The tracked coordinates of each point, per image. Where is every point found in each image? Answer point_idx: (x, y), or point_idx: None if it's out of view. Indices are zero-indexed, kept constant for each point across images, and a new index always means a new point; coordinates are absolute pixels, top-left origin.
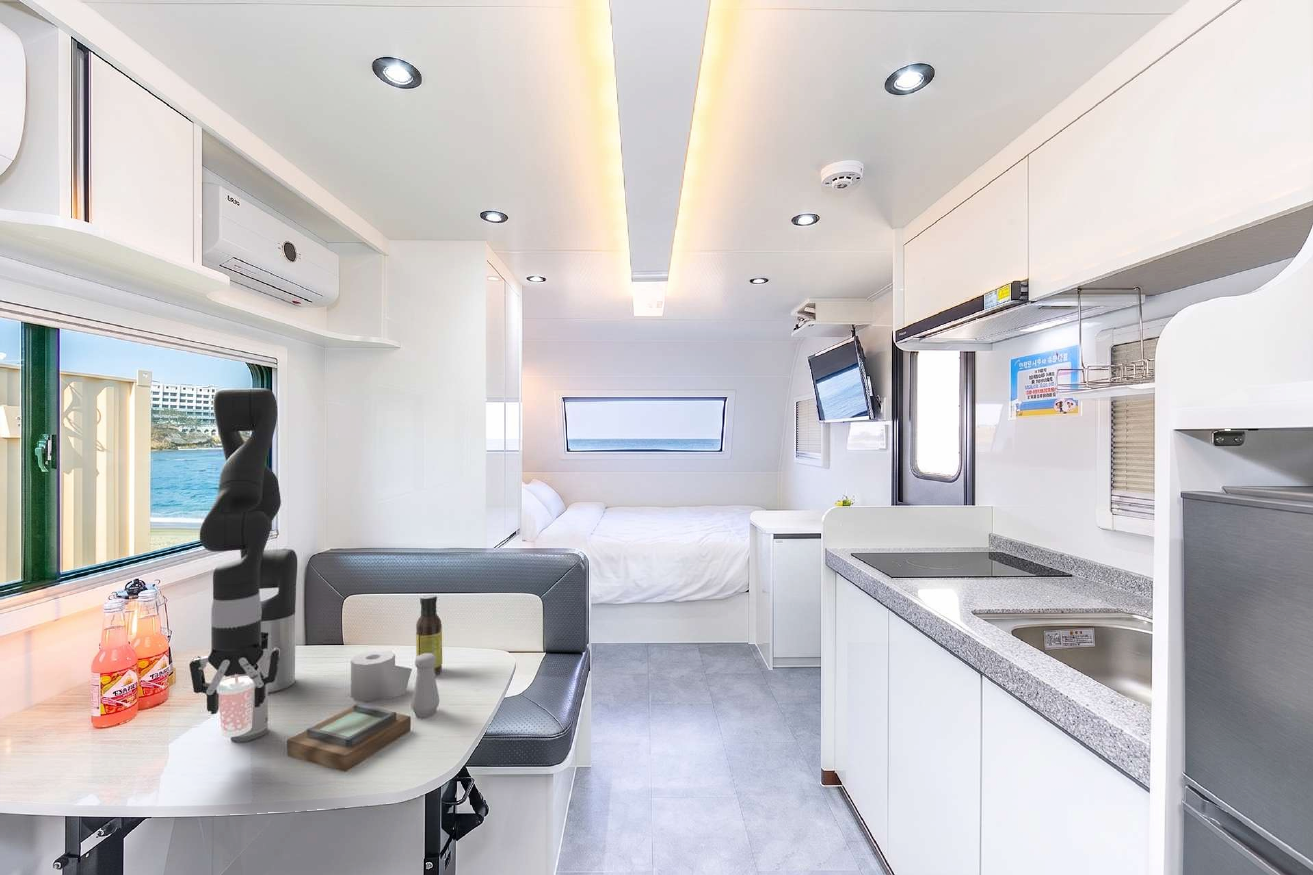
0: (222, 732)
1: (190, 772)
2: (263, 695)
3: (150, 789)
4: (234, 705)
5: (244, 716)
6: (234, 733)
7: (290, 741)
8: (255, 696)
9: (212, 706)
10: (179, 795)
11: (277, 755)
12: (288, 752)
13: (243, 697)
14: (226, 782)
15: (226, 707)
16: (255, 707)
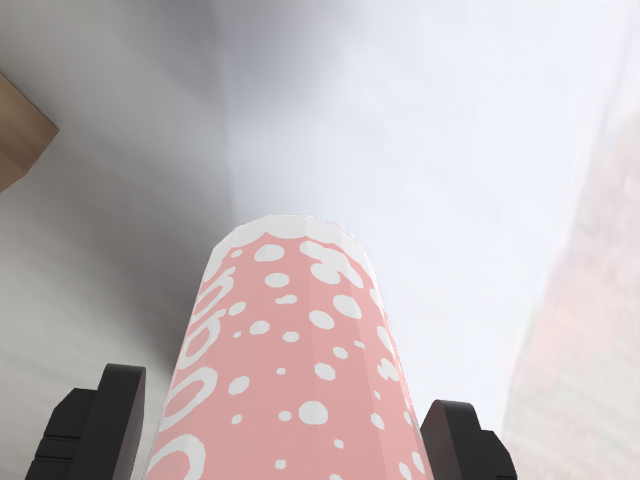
0: (373, 274)
1: (469, 212)
2: (38, 456)
3: (626, 152)
4: (305, 392)
5: (229, 305)
6: (302, 226)
7: (2, 150)
8: (109, 458)
9: (479, 458)
10: (545, 6)
11: (110, 161)
12: (43, 131)
13: (215, 459)
14: (336, 7)
15: (375, 398)
16: (141, 368)
